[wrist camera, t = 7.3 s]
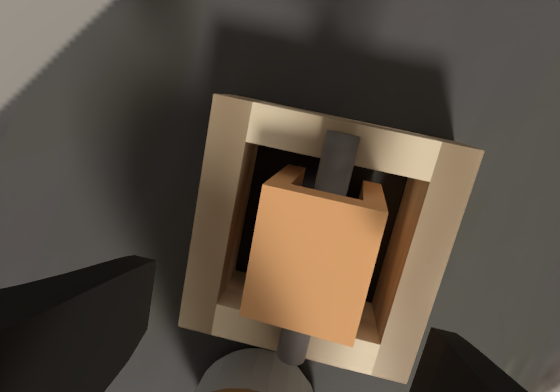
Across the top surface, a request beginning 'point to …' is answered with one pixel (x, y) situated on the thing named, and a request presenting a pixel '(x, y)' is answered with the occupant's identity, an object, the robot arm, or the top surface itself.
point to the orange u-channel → (313, 257)
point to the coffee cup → (253, 374)
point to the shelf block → (335, 179)
